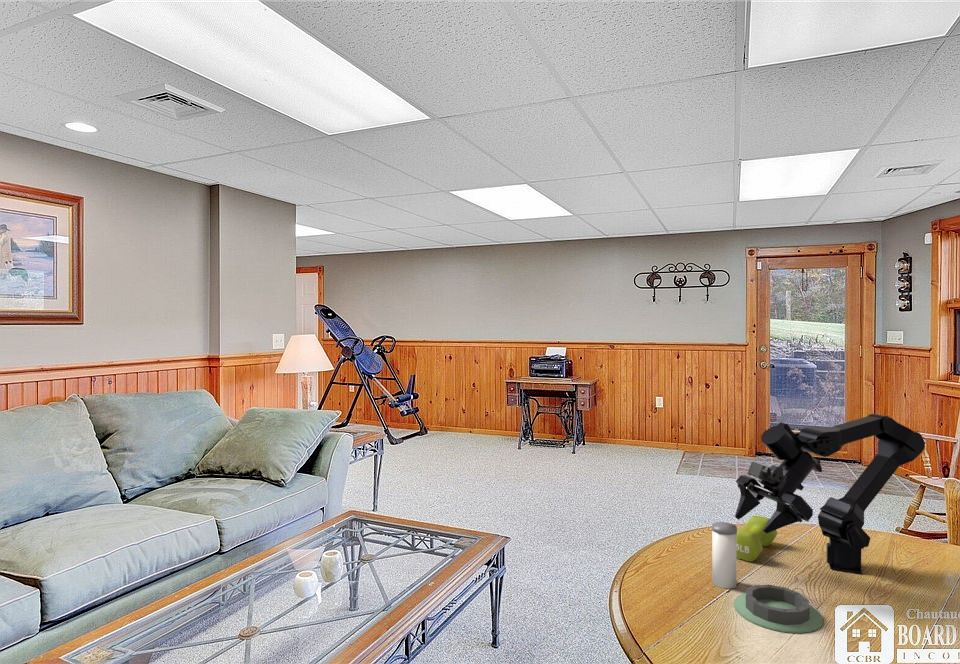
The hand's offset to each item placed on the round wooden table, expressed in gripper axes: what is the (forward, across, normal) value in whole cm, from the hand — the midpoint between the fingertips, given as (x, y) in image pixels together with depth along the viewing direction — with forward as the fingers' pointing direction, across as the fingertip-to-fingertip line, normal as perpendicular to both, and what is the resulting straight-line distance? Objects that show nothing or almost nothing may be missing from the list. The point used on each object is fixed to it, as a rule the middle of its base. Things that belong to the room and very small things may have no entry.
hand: (750, 524), depth 133 cm
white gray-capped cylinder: (+14, 0, +4) cm, 14 cm away
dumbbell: (+1, -14, +18) cm, 22 cm away
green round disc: (+12, +14, +6) cm, 19 cm away
